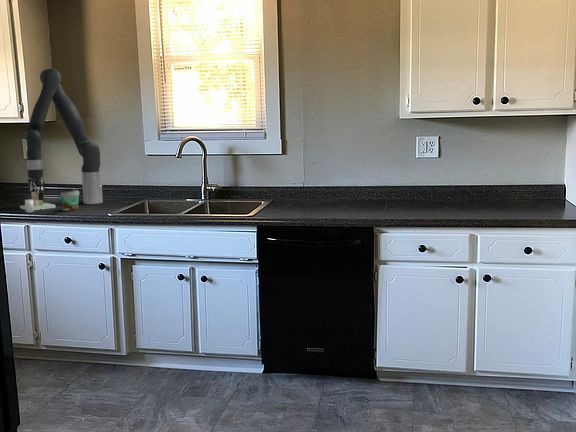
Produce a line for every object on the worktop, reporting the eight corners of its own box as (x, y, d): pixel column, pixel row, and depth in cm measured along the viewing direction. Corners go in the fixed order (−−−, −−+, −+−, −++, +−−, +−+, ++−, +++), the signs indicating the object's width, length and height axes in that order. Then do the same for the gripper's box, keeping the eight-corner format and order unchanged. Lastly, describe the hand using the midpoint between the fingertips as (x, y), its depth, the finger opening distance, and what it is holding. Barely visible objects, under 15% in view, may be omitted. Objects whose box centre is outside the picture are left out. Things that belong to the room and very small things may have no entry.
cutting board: (45, 205, 355) (45, 202, 355) (55, 207, 348) (55, 204, 347) (20, 208, 345) (20, 205, 345) (29, 210, 338) (29, 208, 337)
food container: (72, 212, 332) (71, 192, 330) (61, 212, 333) (60, 192, 331) (85, 208, 344) (84, 189, 342) (74, 208, 345) (73, 189, 343)
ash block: (39, 204, 349) (38, 191, 348) (43, 205, 346) (42, 192, 345) (32, 205, 346) (31, 192, 345) (35, 206, 343) (34, 192, 342)
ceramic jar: (31, 210, 338) (31, 199, 337) (35, 211, 335) (34, 200, 334) (24, 211, 335) (23, 200, 334) (27, 212, 332) (26, 200, 331)
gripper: (48, 168, 341) (50, 199, 343) (35, 166, 350) (38, 197, 353) (34, 169, 335) (36, 201, 338) (21, 168, 345) (24, 198, 348)
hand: (37, 199), depth 346 cm, fingers open, 8 cm apart
